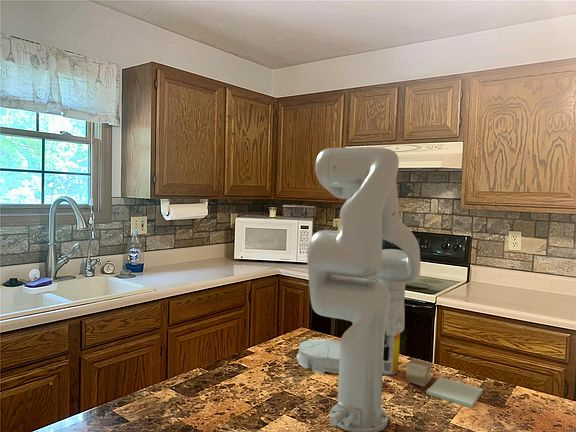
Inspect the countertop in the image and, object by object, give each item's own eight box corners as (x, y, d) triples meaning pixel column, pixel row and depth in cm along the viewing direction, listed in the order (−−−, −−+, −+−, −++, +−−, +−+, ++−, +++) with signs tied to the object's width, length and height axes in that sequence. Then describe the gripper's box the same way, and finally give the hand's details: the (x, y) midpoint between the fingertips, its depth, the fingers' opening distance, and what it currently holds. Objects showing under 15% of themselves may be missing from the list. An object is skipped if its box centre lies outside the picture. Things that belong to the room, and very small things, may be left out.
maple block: (424, 386, 116) (425, 368, 116) (405, 381, 119) (406, 363, 119) (430, 380, 120) (431, 362, 120) (412, 375, 123) (413, 358, 123)
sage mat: (471, 407, 105) (471, 404, 105) (426, 393, 112) (426, 390, 112) (482, 391, 114) (483, 388, 114) (440, 379, 121) (440, 377, 121)
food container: (281, 363, 130) (282, 340, 129) (318, 344, 146) (319, 324, 145) (340, 383, 118) (341, 359, 117) (373, 360, 134) (374, 339, 133)
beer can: (396, 368, 128) (398, 317, 127) (399, 376, 122) (402, 323, 121) (375, 366, 128) (377, 315, 127) (377, 375, 122) (379, 322, 121)
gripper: (390, 301, 115) (387, 369, 116) (415, 290, 128) (411, 351, 129) (364, 296, 119) (361, 361, 120) (390, 286, 133) (387, 345, 134)
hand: (387, 355), depth 125 cm, fingers closed on beer can, 6 cm apart
